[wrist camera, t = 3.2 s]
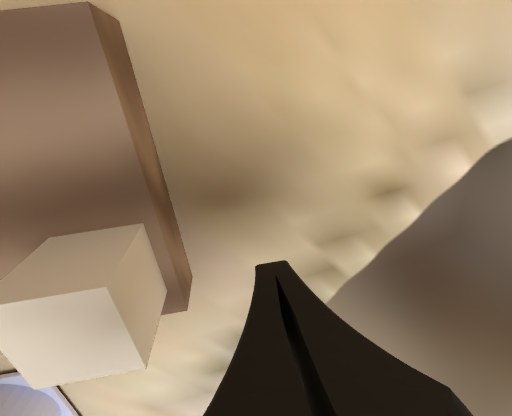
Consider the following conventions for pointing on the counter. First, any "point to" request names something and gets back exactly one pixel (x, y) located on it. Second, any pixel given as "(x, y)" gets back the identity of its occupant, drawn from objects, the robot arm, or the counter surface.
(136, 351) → the block
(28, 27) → the trap board
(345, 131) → the counter surface
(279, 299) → the robot arm
